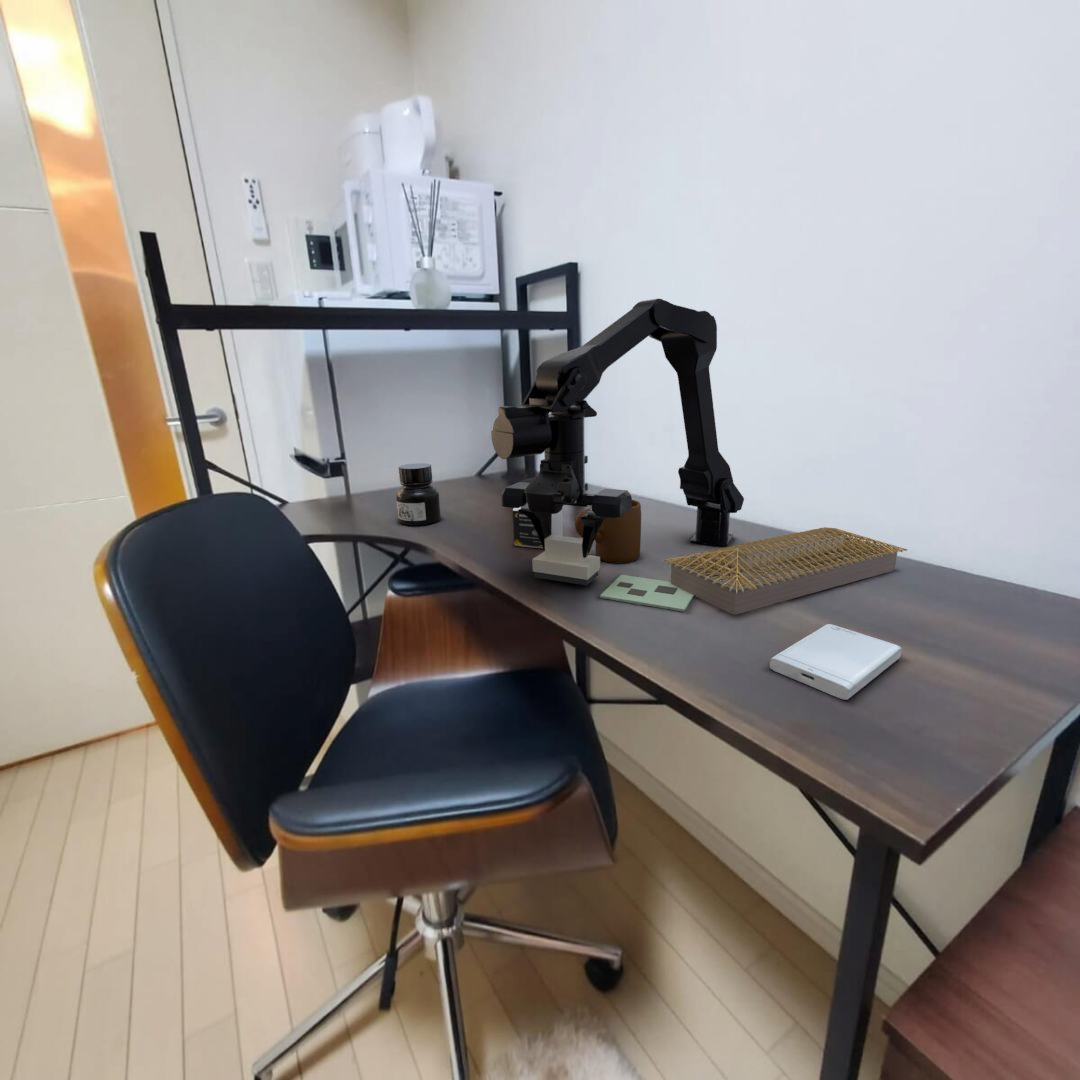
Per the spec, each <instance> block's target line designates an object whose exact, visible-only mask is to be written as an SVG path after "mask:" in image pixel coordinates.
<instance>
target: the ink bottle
mask: <svg viewBox="0 0 1080 1080" xmlns="http://www.w3.org/2000/svg"><path fill="white" fill-rule="evenodd" d="M432 469H433V468H432V464H431V463H420V462H419V463H416V462H415V463H408V464H401V465H399V466H398V475H399V484H400V488H399V489H398V490H397V492H396V493H395V496H396V509H397V517H398V522H399V523H400V524H402V525H406V526H424V525H430V524H433V523H436V522H438V521H440V520H441V517H442V516H441V504H440V493H439V492H440V491H439V490H438V488H437V487H435V486H434V485H433V484H432V483H433V481H434V480H433V470H432Z"/></svg>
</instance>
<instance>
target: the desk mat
mask: <svg viewBox="0 0 1080 1080" xmlns="http://www.w3.org/2000/svg"><path fill="white" fill-rule="evenodd" d="M670 582H671V581H668V580H662V579H654V578H647V577H639V576H633V575H627V574H620V575H619V576H618V577H617V578H616V579H615V580H614V581H613V582H612V583H611V584H610V585H609V586H608V587H607V588H606V589H605V590H604V591H603V592H602V593H601V594H600V595H599V598H600V599H604V600H611V601H616V602H623V603H628V604H635V605H640V606H648V607H653V608H658V609H659V608H660V609H664V610H665V609H666V610H671V611H677V612H682V613H685V612H686V611H687V609H688V607H689V606H690V604H691V602H692V601H693V599H694V598H695V597H696V596H695V595H693V594H691V593H689V592H687V591H685V590H683V589H681V588H679V587H677V586H675V585H673V584H671V583H670Z"/></svg>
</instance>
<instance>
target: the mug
mask: <svg viewBox="0 0 1080 1080" xmlns="http://www.w3.org/2000/svg"><path fill="white" fill-rule="evenodd" d="M641 505H642V504H641V502H640V501H638V500H635V499H632V509H631V510H629V511H628V512H626V513H625V514H624V515H622V516H621V517H618V518H610V517H607V518H605V519H604V521H603V522H602V524H601V526H600V528H599V530H598V532H597V535H596V537H595V540H594V542H595V556H599V557H600V561H603V562H606V563H611V564H627V563H631V562H634V561H636V560H638V559H639V557H640V555H641V542H642V541H641V540H642V539H641V538H642V506H641ZM585 514H587V508H586V509H584V510H581V511H580V512H579V513H578V514H577V516H576V518H575V521H574V527H575V530H576V533H577V534H578V535H579V536H580V538H583V523H582V520H581V517H582V516H583V515H585Z"/></svg>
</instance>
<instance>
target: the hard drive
mask: <svg viewBox="0 0 1080 1080" xmlns="http://www.w3.org/2000/svg"><path fill="white" fill-rule="evenodd" d="M901 657H902V647H901V646H899V645H897V644H895V643H892V642H888V641H886V640H882V639H879V638H876V637H873V636H870V635H867V634H864V633H861V632H857V631H854V630H851V629H847V628H845V627H842V626H838V625H835V624H833V623H827V624H825V625H823V626H822V627H820V628H818V629H817V630H815V631H813V632H812V633H810V634H808V635H807V636H805V637H804V638H802V639H800V640H798V641H797V642H795V643H794V644H792V645H790V646H789V647H787V648H786V649H784V650H782V651H781V652H778V653H777V654H776V655H774V656H773V657H771V658H770V660H769V661H770V662H769V668H770V670H772V671H773V672H775V673H778V674H781V675H782V676H785V677H788V678H789V679H793V680H795V681H797V682H800V683H801V684H805V685H807V686H809V687H811V688H813V689H816V690H819V691H821V692H823V693H826V694H828V695H830V696H832V697H836V698H837V699H839V700H844V701H848V700H849V699H850V698H852V697H853V696H854V695H855V694H857V693H858V692H859V691H860V690H862V689H863V688H864V687H865V686H867V685H868V684H870V682H872V681H873V680H874V679H875V678H877V677H878V676H879V675H880V674H882V673H883V672H884V671H885V670H887V669H888V668H889V667H890V666H892V665H893V664H894V663H895V662H896V661H898V660H900V658H901Z"/></svg>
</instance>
